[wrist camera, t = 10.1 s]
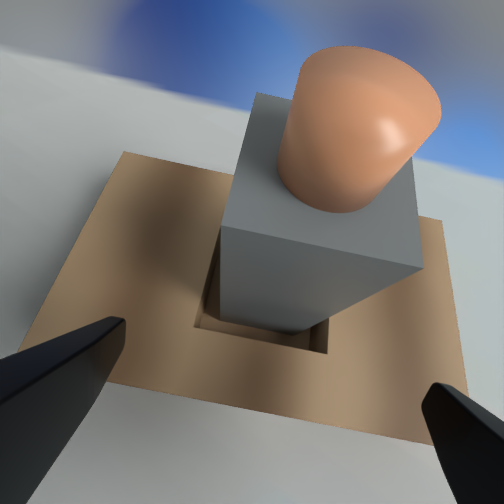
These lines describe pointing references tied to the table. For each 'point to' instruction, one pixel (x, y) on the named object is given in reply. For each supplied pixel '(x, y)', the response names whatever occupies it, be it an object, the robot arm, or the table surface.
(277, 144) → the gray square post
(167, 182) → the wooden block with hole
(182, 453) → the table surface
